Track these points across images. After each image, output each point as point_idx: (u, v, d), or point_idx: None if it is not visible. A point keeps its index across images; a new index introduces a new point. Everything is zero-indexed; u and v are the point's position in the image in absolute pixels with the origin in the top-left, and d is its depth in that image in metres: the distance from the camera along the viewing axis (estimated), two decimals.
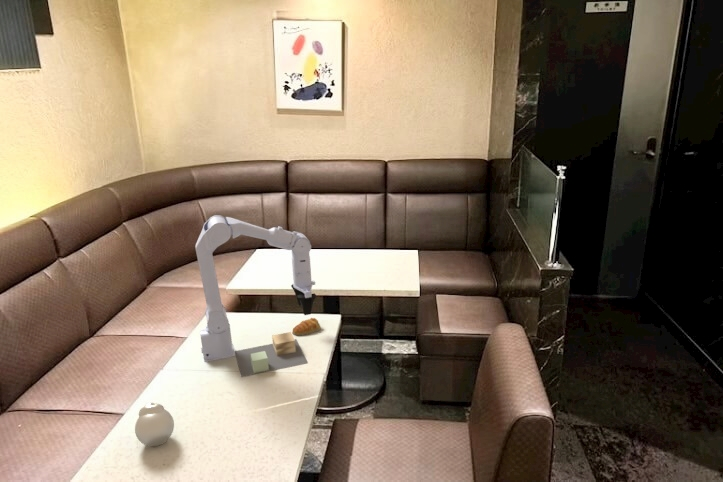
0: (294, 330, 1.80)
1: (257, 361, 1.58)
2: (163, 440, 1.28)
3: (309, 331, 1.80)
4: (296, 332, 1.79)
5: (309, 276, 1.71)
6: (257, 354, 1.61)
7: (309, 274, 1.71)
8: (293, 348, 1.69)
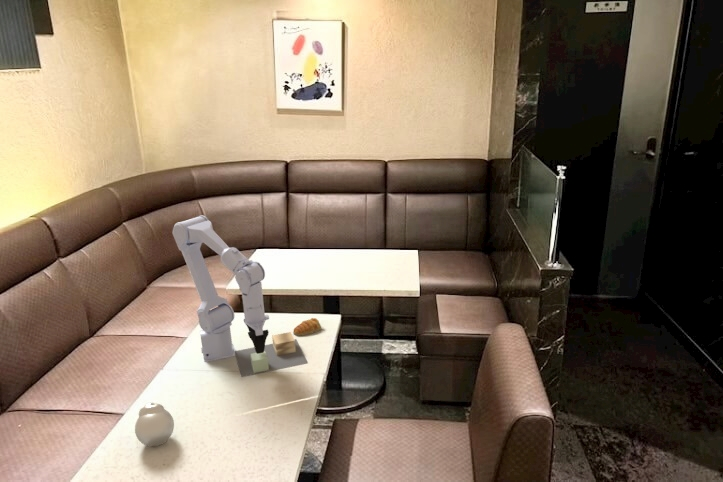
0: (295, 330, 1.80)
1: (257, 361, 1.58)
2: (163, 440, 1.28)
3: (310, 331, 1.80)
4: (297, 332, 1.79)
5: (261, 310, 1.54)
6: (257, 354, 1.61)
7: (261, 308, 1.54)
8: (293, 348, 1.69)
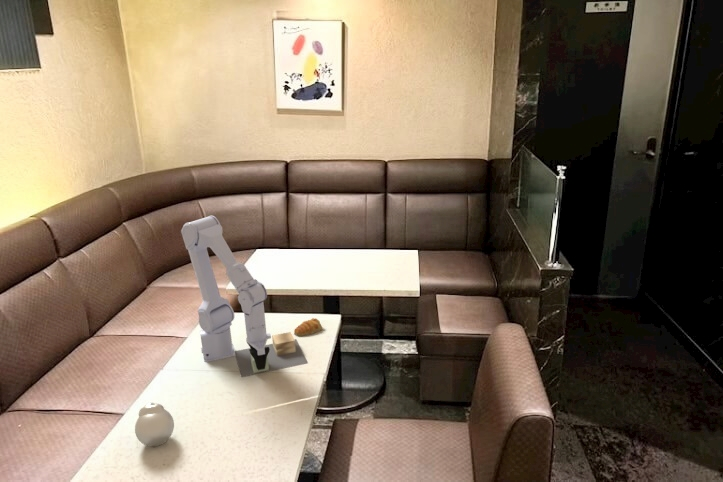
0: (296, 331, 1.79)
1: None
2: (163, 440, 1.28)
3: (311, 331, 1.80)
4: (298, 333, 1.79)
5: (263, 330, 1.56)
6: None
7: (263, 328, 1.56)
8: (293, 348, 1.69)
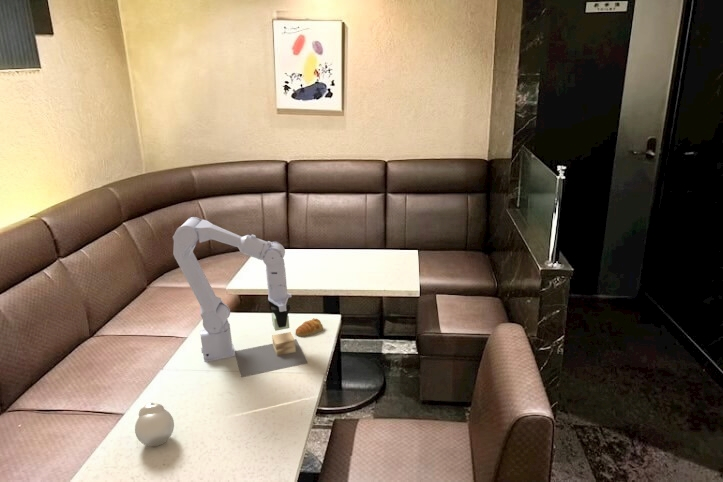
0: (297, 331, 1.79)
1: None
2: (163, 440, 1.28)
3: (312, 332, 1.79)
4: (299, 333, 1.78)
5: (284, 288, 1.62)
6: None
7: (284, 286, 1.62)
8: (293, 348, 1.69)
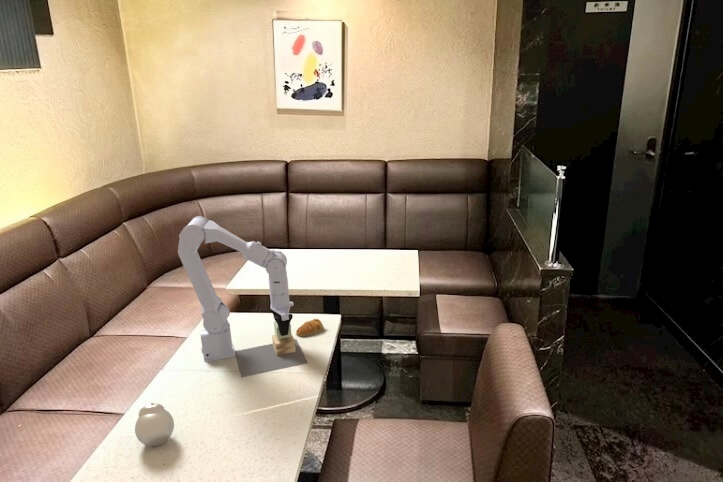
0: (298, 331, 1.79)
1: None
2: (163, 440, 1.28)
3: (313, 332, 1.79)
4: (300, 333, 1.78)
5: (287, 297, 1.64)
6: None
7: (287, 295, 1.64)
8: (293, 348, 1.69)
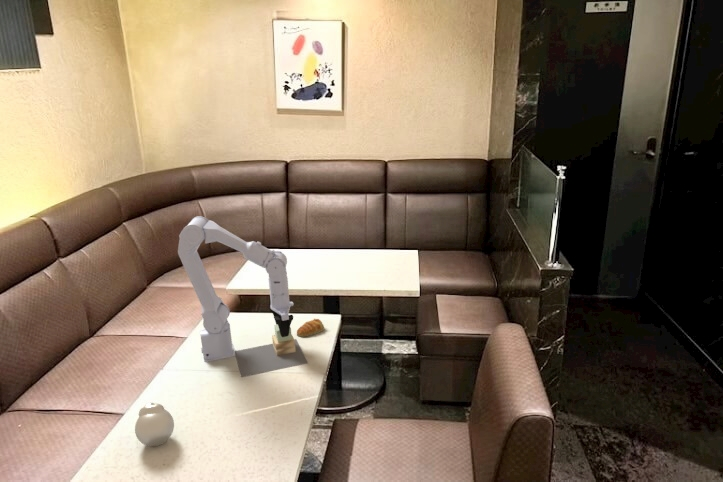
0: (298, 332, 1.79)
1: None
2: (163, 440, 1.28)
3: (314, 332, 1.79)
4: (301, 333, 1.78)
5: (287, 297, 1.64)
6: None
7: (287, 295, 1.64)
8: (293, 348, 1.69)
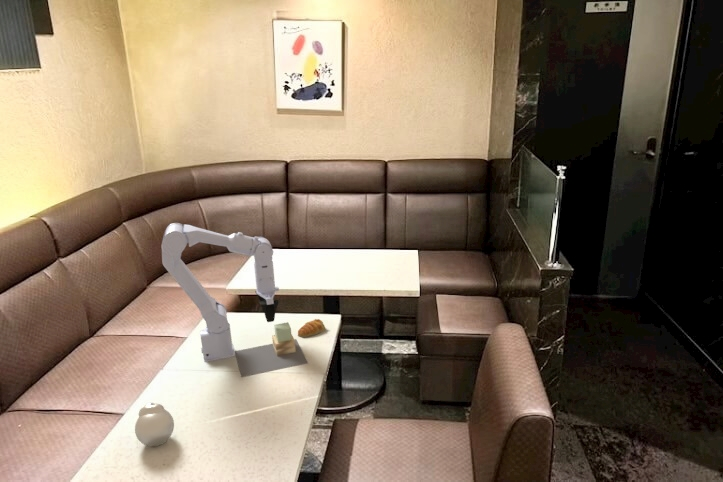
0: (300, 332, 1.79)
1: (281, 331, 1.66)
2: (163, 440, 1.28)
3: (315, 332, 1.79)
4: (302, 334, 1.78)
5: (272, 282, 1.66)
6: (281, 325, 1.69)
7: (272, 280, 1.66)
8: (293, 348, 1.69)
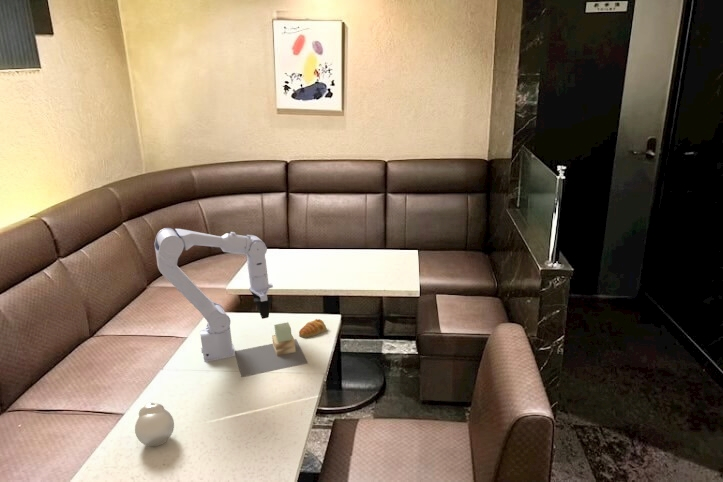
0: (301, 332, 1.78)
1: (281, 331, 1.66)
2: (163, 440, 1.28)
3: (316, 332, 1.79)
4: (303, 334, 1.77)
5: (265, 279, 1.68)
6: (281, 325, 1.69)
7: (265, 277, 1.68)
8: (293, 348, 1.69)
